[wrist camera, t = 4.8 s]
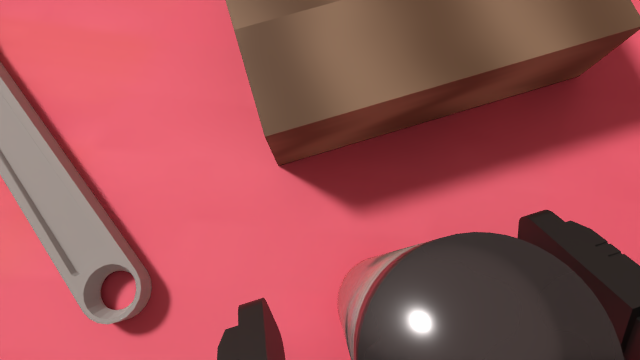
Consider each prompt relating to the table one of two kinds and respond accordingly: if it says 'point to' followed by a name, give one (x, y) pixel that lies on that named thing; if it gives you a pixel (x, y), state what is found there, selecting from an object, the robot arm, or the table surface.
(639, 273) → the robot arm
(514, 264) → the steel pin
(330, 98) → the block
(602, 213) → the table surface
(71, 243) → the adjustable wrench
